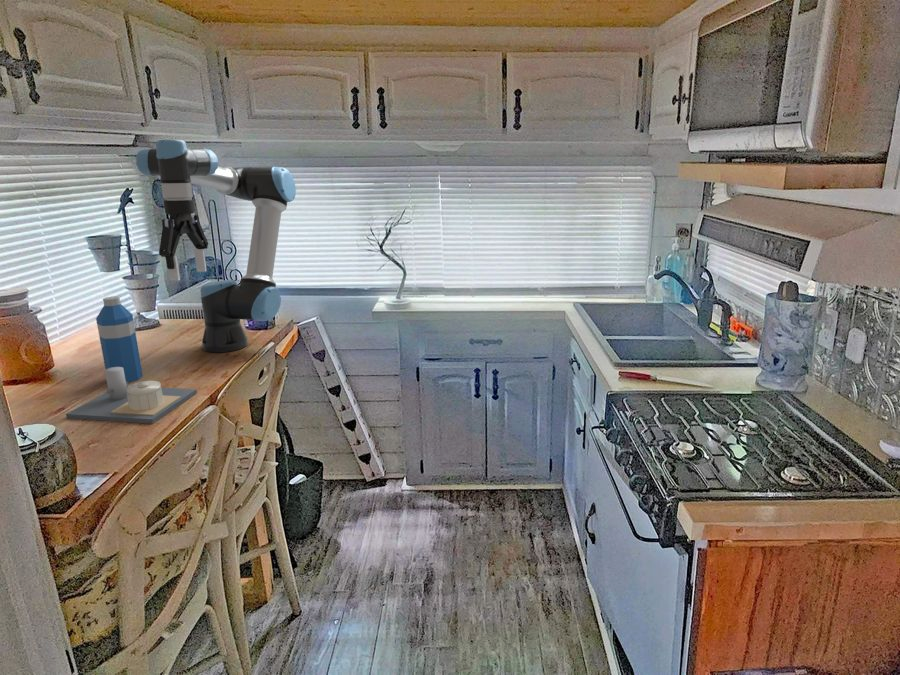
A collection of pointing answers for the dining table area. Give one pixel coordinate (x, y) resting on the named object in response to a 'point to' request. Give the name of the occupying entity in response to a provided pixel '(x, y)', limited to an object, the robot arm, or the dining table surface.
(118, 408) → the board
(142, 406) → the cap
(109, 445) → the dining table surface
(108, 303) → the water bottle
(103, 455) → the dining table surface
